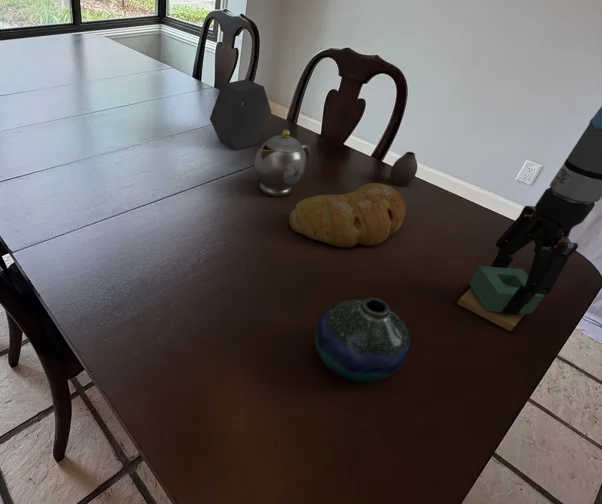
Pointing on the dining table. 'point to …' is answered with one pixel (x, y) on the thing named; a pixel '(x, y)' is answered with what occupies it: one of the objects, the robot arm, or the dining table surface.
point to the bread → (351, 216)
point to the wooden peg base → (499, 318)
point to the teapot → (281, 164)
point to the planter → (240, 113)
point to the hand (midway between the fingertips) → (498, 297)
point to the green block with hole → (500, 288)
